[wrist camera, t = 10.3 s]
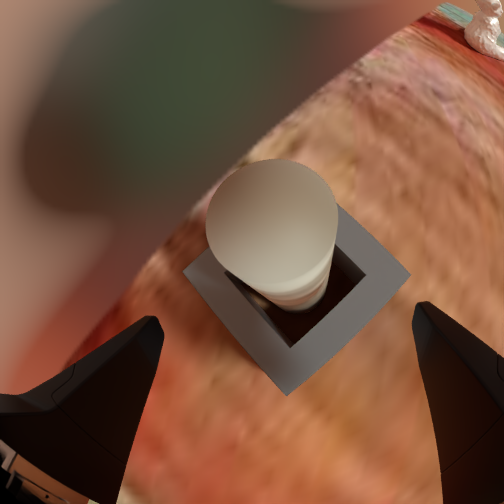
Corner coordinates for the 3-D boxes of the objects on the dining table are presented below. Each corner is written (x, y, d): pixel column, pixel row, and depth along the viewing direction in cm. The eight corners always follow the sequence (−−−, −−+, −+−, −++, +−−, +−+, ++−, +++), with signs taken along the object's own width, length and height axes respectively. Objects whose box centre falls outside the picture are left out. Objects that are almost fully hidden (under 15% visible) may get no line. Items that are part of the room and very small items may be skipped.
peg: (312, 323, 19) (305, 306, 7) (261, 300, 20) (183, 251, 9) (334, 271, 20) (355, 181, 8) (284, 250, 21) (240, 147, 9)
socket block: (292, 384, 18) (286, 396, 14) (205, 282, 22) (182, 271, 18) (394, 286, 18) (411, 274, 15) (300, 196, 22) (295, 168, 18)
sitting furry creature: (511, 65, 21) (530, 15, 9) (491, 67, 21) (510, 9, 10) (472, 32, 24) (483, -17, 13) (447, 32, 25) (457, -24, 13)
